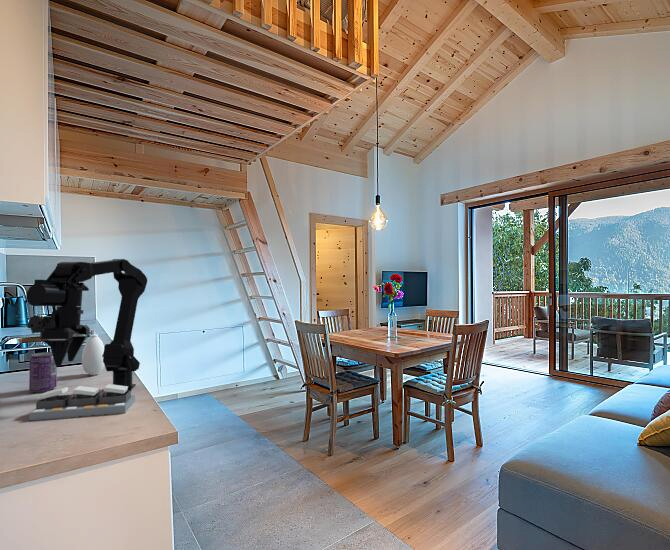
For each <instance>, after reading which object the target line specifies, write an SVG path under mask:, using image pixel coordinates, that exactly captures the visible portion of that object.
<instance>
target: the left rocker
mask: <svg viewBox="0 0 670 550" xmlns="http://www.w3.org/2000/svg"><path fill="white" fill-rule="evenodd" d="M67 391H69V386H65V387H60V388H56V389H52V390H50V391H46V392H43V393H42V394H39V396H40V399H44V398H48V397H52V396H56V395H64V394H65V393H66V392H67Z"/></svg>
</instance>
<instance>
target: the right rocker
mask: <svg viewBox="0 0 670 550" xmlns="http://www.w3.org/2000/svg"><path fill="white" fill-rule="evenodd" d="M127 389H128V386H120V385H113V383H112V384H111V383H108V384H106V386H105V387H103V392H115V393H123V394H124V393H125V392H126V391H127Z"/></svg>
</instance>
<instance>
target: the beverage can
mask: <svg viewBox="0 0 670 550" xmlns="http://www.w3.org/2000/svg"><path fill="white" fill-rule="evenodd" d="M28 366H29V372H28V373H29V374H28V376H29V379H28V381H29V382H28V383H29V384H28V385H29V387H28V389H29V391H30V392H33V393H45V391H46V392H48V391H52V390H54V389H55V388H56V387H57V369H58V366H56V365H55V361H54V357H53V354H52V351H44V352H36V353H32V354H31V357H30V358H29V365H28Z"/></svg>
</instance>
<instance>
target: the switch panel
mask: <svg viewBox="0 0 670 550" xmlns="http://www.w3.org/2000/svg"><path fill="white" fill-rule="evenodd" d="M135 401H136V394H132V390H130V391H126V392H125V393H124V394H123V393H115V392H107V391H104V393H103V392H98V393H96V394H95V395H94V396H92V395H84V394H76V393H75V395H73V394H60V395H56V396H52V397H48V398H44V399H41V398H40V399H39V400H37V401H36V402H35V408H34V409H33V410H32V411H30V412H28V421H29V420H32V421H42V419H45V420H56V419H68V418H80V417H79V416H82V417H92V416H91V415H95V416H104V414H105V416H106V414H107V415H119V414H126V413H127V411H129V409H130V408H131V407H132V406H133V404H134V403H135Z"/></svg>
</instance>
